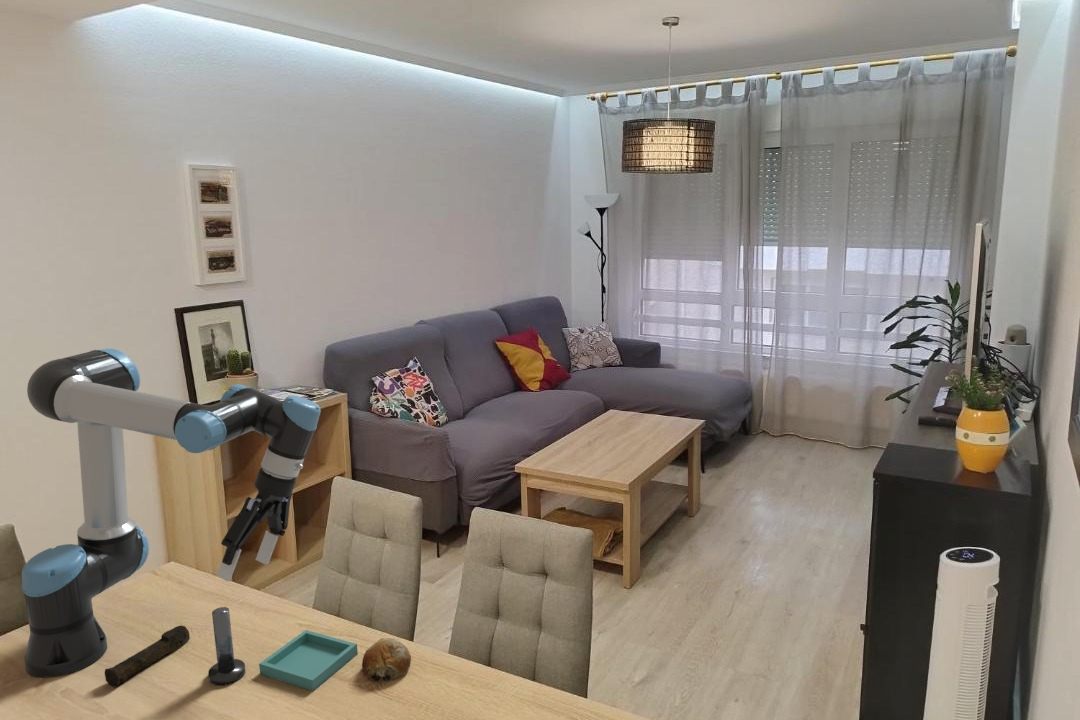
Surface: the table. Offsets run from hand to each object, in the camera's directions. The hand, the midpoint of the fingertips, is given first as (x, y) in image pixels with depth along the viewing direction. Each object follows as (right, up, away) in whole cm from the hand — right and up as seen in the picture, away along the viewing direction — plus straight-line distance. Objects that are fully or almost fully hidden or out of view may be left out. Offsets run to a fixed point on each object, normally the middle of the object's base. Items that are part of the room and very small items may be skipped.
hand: (243, 570), depth 157 cm
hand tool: (-23, -22, +8) cm, 33 cm away
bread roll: (+28, -22, +5) cm, 36 cm away
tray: (+11, -22, +7) cm, 25 cm away
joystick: (-5, -23, +3) cm, 23 cm away
